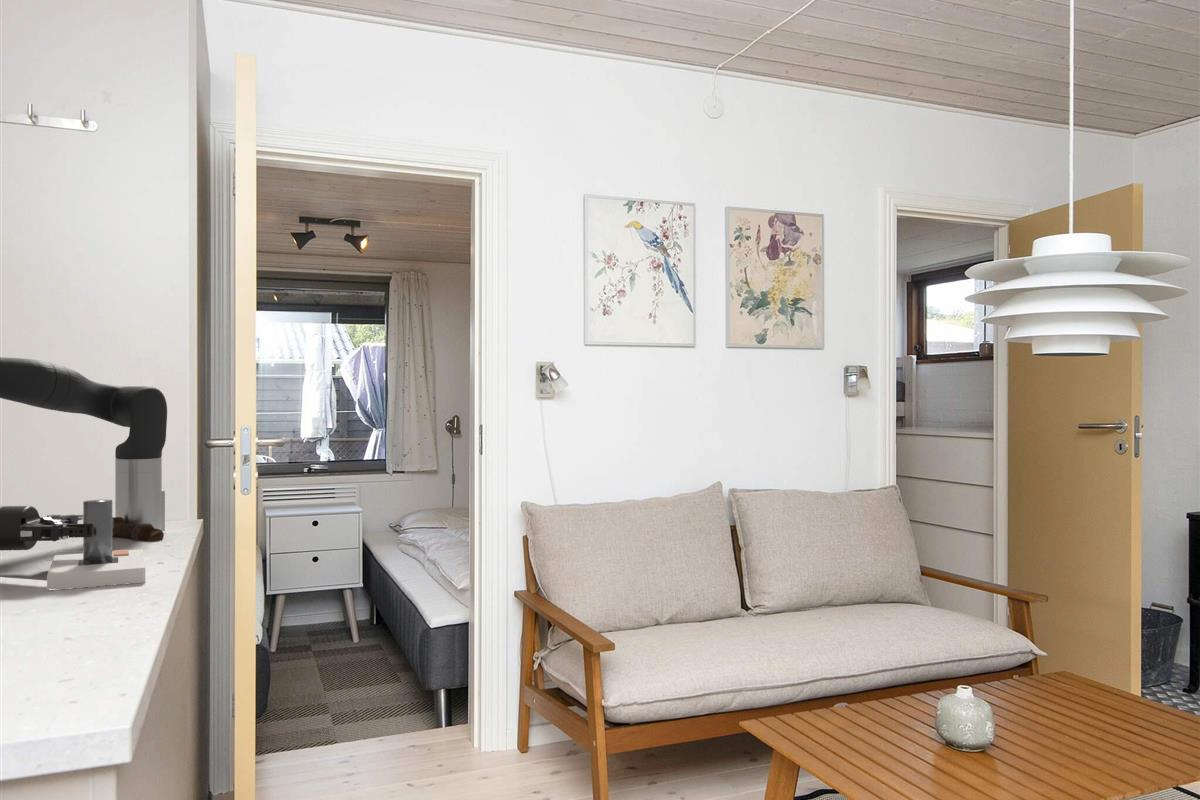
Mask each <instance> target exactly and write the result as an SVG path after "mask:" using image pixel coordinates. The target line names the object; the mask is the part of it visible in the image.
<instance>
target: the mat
mask: <svg viewBox="0 0 1200 800" xmlns="http://www.w3.org/2000/svg"><path fill="white" fill-rule="evenodd" d="M81 553H83V549H75V550H60V551H59V550H58V551H50V552H49V553H48V556H47V558H46V562H50V561H51V562H52V561H53V559H54V556H55V555H67V554H81Z"/></svg>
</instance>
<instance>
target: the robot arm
mask: <svg viewBox="0 0 1200 800" xmlns="http://www.w3.org/2000/svg"><path fill="white" fill-rule="evenodd" d="M0 399H3V400H7V401H11V402H15V403H19V404H24V405H28V406H32V407H36V408H41V409H46V410H51V411H57V412H60V413H61V412H62V413H68V414H69V413H71V414H82V415H87V416H91V417H94V418H96V419H100V420H104V421H106V422H108V423H110V424H115V425H117V426H121V427H123V428H124V427H125V428H129V430H128V432H129V433H128V437H127V438H126V439H125V440H124V441H123V442H122V443H120V444H118V445H117V446H116V447H115V453H114V454H115V456H114V458H115V460H114V461H115V462H114V463H115V464H114V467H115V468H114V469H115V471H114V472H115V474H114V475H115V477H114V478H115V480H114V481H115V484H114V485H115V488H114V489H115V491H114V492H115V497H114V499H115V500H114V502H115V503H114V505H115V512H114V513H115V514H114V516H115V517H122V518H123V520H124V521H125V523H126V524H130V525H138V524H145V523H149V524H151V525H152V526H153V527H154V528H155V529H160V530H162V532H163V531H165V532H166V524H165V523H166V513H165V512H166V491H165V490H164V489H162V485H163V484H162V482H163V479H162V478H163V477H162V476H163V475H162V473H163V472H162V468H163V467H162V466H163V465H162V462H163V461H162V460H163V459H162V458H163V449H164V447H165V444H166V441H167V423H168V404H167V400H166V397H165V394H164V393H163V392H162V391H161V390H160V389H158V388H156V387H153V386H145V385H144V386H143V385H142V386H139V385H138V386H137V385H136V386H127V385H126V386H125V385H124V386H122V385H120V386H119V385H111V384H106V383H105V384H104V383H100V382H96V381H93V380H91V379H89V378H87V377H85V376H84V375H83V374H81V373H80V372H78V371H76V370H74V369H72V368H69V367H66V366H63V365H59V364H55V363H54V362H53V363H52V362H47V361H43V360H38V359H33V358H32V359H31V358H22V357H21V358H20V357H3V356H2V357H1V356H0ZM79 521H83V514H47V515H46V516H40V515H39V511H38V510H37V509H36V507H34V506H31V505H7V506H6V505H5V506H4V505H0V551H1V552H2V551H28V550H31V549H33V548H34V546H36V544H37V542H49V541H50V542H51V541H52V542H57V541H60V540H66V539H67V540H68V539H70V538H73V539H74V538H83V537H92V536H93V535H94V525H93V524H83V523H79ZM113 528H114V518H113V516H112V529H113ZM163 533H164V532H163Z"/></svg>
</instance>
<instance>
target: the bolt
mask: <svg viewBox="0 0 1200 800" xmlns="http://www.w3.org/2000/svg"><path fill="white" fill-rule="evenodd" d="M112 517H113V516H112ZM113 518H114V528H113V529H112V538H121V539H127V540H129V539H130V540H132V541H146V542H158V541H162V540H163V539H164V537H165V536H164V533H165V532H162V530H160V529H155V528H154V527H153V526H152V525H151V524H149V523H145V524H138V525H130V524H126V523H125V521H124V520H123V518H122V517H113Z"/></svg>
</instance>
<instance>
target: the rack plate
mask: <svg viewBox="0 0 1200 800" xmlns="http://www.w3.org/2000/svg"><path fill="white" fill-rule="evenodd" d="M143 550H144V549H143V548H141V549H128V548H126V549H115V550H114V549H113V550H112V563H107V564H94V565H83V553H81V554H67V555H55V556H54V559H53V560H52V561H51V565H49V566H50V567H49V569H48V571H47V574H46V591H47V590H49V589H65V590H69V589H68V588H77V589H84V588H83V587H88V588H97V587H96V586H100V587H106V586H105V585H111V586H115V585H114V584H123V585H127V584H126V583H134V584H143V582H145V583H146V563H145V562H146V561H145V557H144V552H143Z"/></svg>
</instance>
